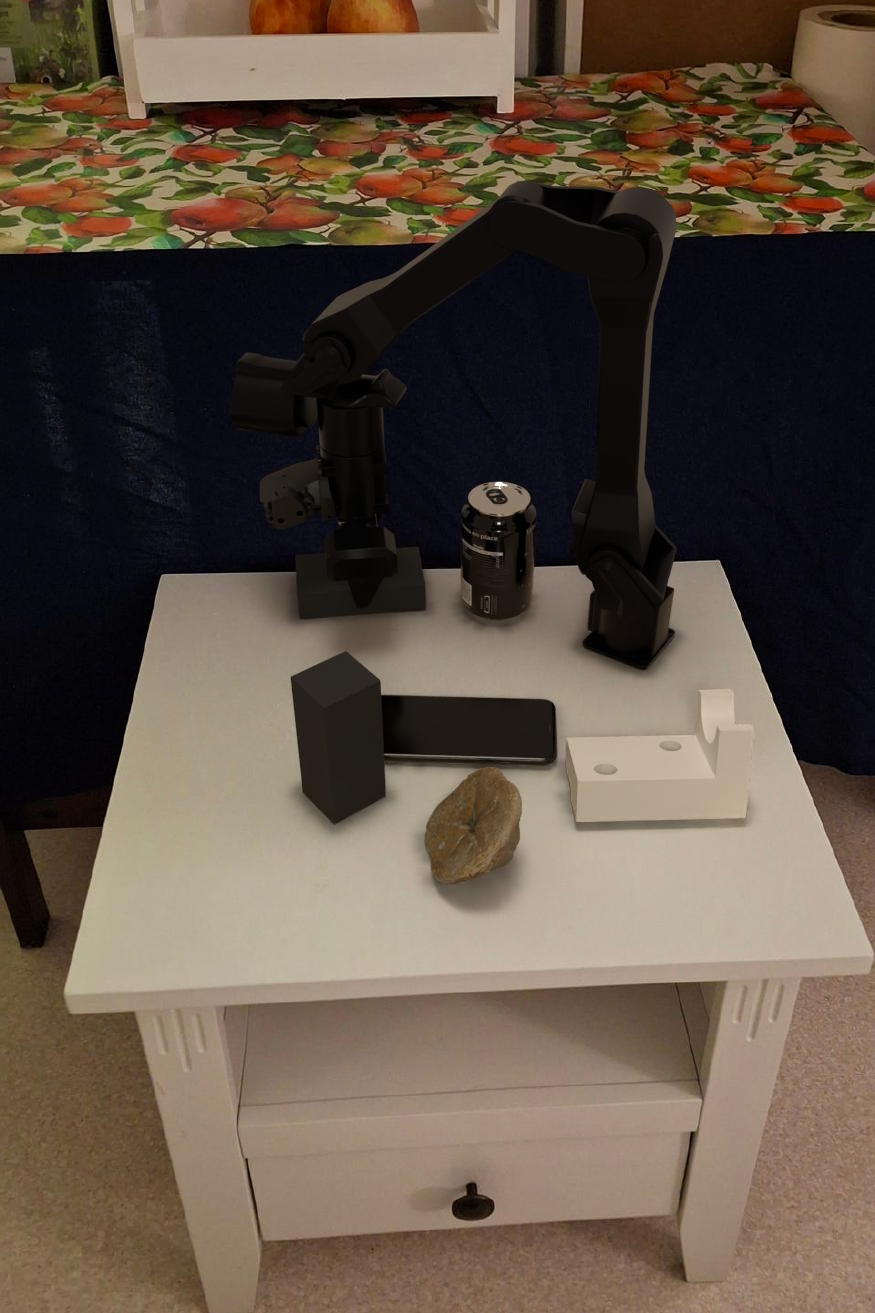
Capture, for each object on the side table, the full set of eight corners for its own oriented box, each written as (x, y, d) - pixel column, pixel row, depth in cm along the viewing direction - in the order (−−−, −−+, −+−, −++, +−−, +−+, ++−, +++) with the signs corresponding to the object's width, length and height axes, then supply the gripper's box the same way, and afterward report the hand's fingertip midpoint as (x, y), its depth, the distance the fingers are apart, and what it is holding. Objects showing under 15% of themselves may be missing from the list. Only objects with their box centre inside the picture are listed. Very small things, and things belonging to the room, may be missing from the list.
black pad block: (353, 765, 99) (346, 650, 92) (386, 796, 97) (381, 680, 89) (302, 792, 97) (289, 676, 90) (334, 825, 94) (324, 708, 87)
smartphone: (360, 763, 99) (557, 769, 99) (360, 755, 99) (558, 761, 98) (370, 700, 106) (555, 705, 105) (369, 692, 105) (556, 697, 104)
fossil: (487, 744, 93) (529, 815, 84) (525, 773, 95) (569, 845, 86) (408, 826, 94) (440, 904, 85) (446, 853, 96) (482, 932, 87)
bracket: (723, 772, 100) (731, 689, 97) (745, 818, 93) (754, 729, 90) (565, 776, 100) (568, 692, 97) (576, 822, 93) (579, 733, 90)
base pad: (419, 571, 121) (418, 546, 119) (425, 610, 116) (425, 584, 114) (297, 579, 120) (295, 554, 118) (299, 619, 115) (296, 593, 113)
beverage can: (513, 579, 120) (517, 472, 112) (544, 617, 115) (550, 508, 107) (449, 595, 118) (449, 487, 110) (478, 634, 113) (480, 524, 105)
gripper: (260, 398, 114) (275, 538, 124) (259, 503, 100) (276, 652, 109) (379, 391, 115) (384, 531, 125) (395, 494, 101) (400, 643, 110)
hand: (360, 586), depth 117 cm, fingers closed on base pad, 6 cm apart
